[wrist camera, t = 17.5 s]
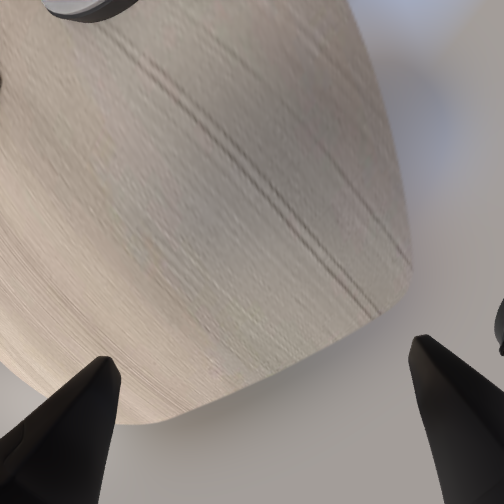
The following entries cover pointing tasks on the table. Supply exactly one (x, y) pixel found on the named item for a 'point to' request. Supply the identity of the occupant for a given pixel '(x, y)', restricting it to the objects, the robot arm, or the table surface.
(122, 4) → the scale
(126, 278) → the table surface
